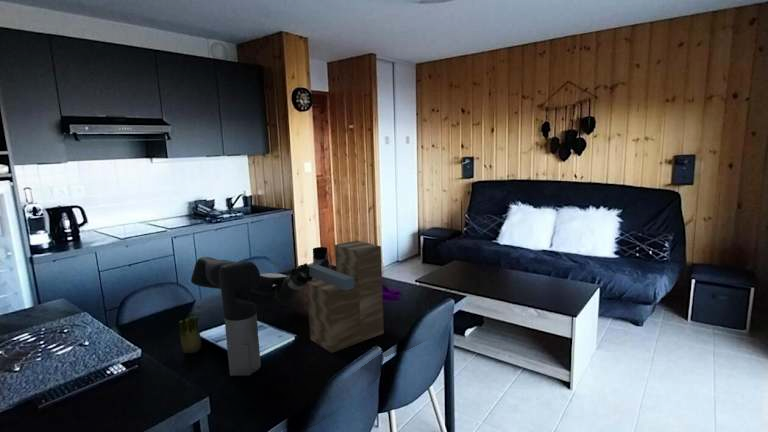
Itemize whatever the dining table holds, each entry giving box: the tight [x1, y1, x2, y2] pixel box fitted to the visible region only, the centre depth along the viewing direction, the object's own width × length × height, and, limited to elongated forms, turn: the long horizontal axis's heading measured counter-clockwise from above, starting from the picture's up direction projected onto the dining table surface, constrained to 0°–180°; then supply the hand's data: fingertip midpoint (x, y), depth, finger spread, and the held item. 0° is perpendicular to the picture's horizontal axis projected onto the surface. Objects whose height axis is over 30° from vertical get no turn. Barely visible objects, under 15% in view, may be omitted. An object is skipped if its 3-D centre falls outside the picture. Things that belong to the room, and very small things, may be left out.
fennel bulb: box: [178, 316, 202, 354], centre depth 142 cm, size 6×5×12 cm
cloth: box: [382, 283, 403, 303], centre depth 191 cm, size 22×19×6 cm
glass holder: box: [312, 246, 332, 269], centre depth 222 cm, size 9×14×15 cm, turn 40°
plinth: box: [306, 240, 385, 354], centre depth 149 cm, size 14×22×32 cm, turn 129°
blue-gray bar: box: [308, 264, 354, 291], centre depth 145 cm, size 23×4×4 cm, turn 39°
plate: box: [260, 273, 288, 288], centre depth 216 cm, size 25×25×2 cm
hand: (317, 263), depth 152 cm, fingers open, 8 cm apart
